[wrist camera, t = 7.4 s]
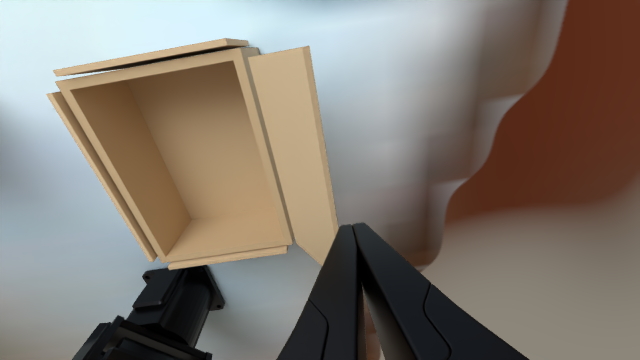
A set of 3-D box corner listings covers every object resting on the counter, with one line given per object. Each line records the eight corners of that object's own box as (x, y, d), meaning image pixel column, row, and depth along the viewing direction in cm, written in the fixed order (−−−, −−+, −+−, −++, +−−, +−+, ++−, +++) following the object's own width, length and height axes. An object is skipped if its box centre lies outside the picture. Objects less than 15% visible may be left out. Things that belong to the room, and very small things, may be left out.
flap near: (296, 243, 18) (299, 241, 18) (342, 284, 15) (346, 281, 15) (247, 57, 13) (253, 56, 13) (302, 46, 9) (309, 45, 9)
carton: (298, 211, 24) (295, 251, 19) (186, 228, 24) (155, 271, 20) (257, 39, 17) (237, 35, 13) (106, 66, 18) (33, 73, 13)
